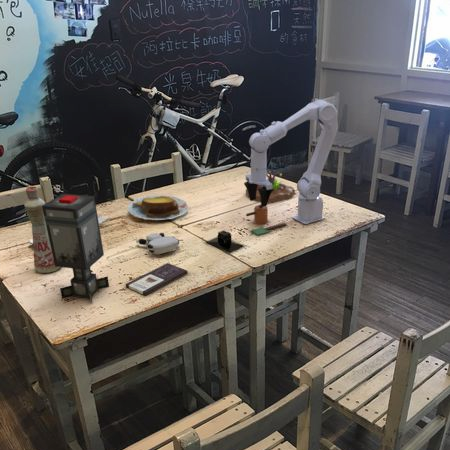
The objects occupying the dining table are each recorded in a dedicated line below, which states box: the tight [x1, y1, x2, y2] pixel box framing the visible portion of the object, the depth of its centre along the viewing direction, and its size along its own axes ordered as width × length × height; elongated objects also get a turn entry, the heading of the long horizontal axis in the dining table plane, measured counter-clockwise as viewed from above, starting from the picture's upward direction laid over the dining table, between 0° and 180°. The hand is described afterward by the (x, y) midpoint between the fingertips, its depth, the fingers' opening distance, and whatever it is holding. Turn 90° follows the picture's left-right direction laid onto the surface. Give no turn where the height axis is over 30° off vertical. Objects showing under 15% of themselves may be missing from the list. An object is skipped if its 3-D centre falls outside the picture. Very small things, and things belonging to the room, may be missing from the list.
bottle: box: [23, 185, 62, 274], centre depth 162 cm, size 9×9×28 cm
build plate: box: [205, 230, 245, 253], centre depth 181 cm, size 12×7×5 cm, turn 45°
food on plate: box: [127, 194, 189, 221], centre depth 210 cm, size 25×25×7 cm
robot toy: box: [135, 232, 184, 255], centre depth 180 cm, size 12×4×15 cm
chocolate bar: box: [125, 262, 188, 296], centre depth 160 cm, size 9×1×18 cm
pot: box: [245, 203, 269, 225], centre depth 197 cm, size 10×5×7 cm, turn 121°
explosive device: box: [42, 193, 110, 304], centre depth 147 cm, size 10×10×30 cm
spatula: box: [249, 222, 287, 237], centre depth 193 cm, size 14×5×1 cm, turn 121°
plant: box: [245, 170, 296, 204], centre depth 224 cm, size 20×20×11 cm
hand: (258, 203), depth 193 cm, fingers open, 7 cm apart
